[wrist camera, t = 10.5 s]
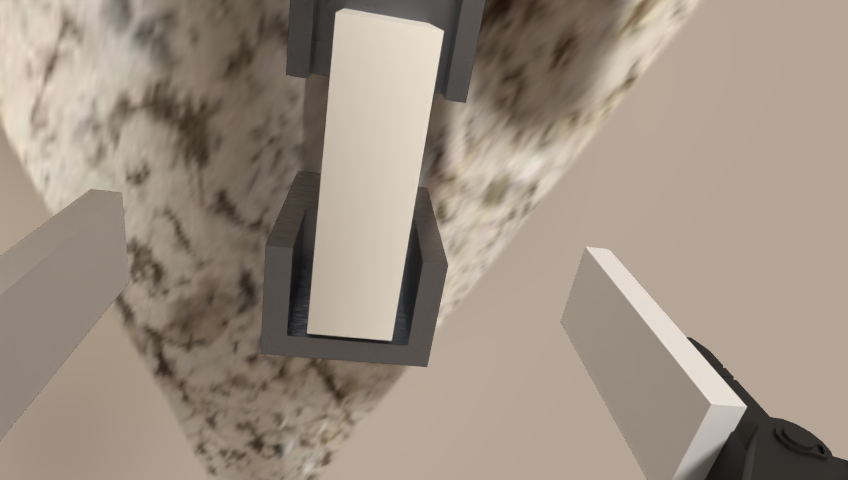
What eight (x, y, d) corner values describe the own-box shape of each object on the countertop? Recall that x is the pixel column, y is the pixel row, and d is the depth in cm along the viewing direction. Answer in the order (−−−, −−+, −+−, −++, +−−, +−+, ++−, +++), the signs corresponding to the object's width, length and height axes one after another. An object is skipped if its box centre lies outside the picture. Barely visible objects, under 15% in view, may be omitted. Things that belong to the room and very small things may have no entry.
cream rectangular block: (344, 8, 24) (335, 12, 19) (429, 23, 25) (443, 30, 20) (319, 272, 30) (306, 333, 25) (388, 279, 31) (391, 340, 25)
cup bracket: (298, 171, 34) (265, 245, 24) (427, 187, 35) (447, 265, 25) (292, 254, 36) (260, 353, 26) (413, 267, 37) (427, 367, 27)
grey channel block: (313, -59, 28) (294, -76, 22) (465, -30, 30) (492, -37, 23) (305, 57, 31) (286, 74, 24) (446, 79, 32) (465, 102, 25)
